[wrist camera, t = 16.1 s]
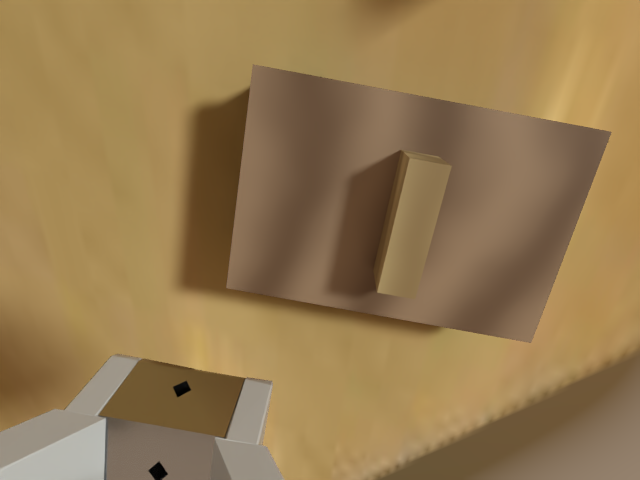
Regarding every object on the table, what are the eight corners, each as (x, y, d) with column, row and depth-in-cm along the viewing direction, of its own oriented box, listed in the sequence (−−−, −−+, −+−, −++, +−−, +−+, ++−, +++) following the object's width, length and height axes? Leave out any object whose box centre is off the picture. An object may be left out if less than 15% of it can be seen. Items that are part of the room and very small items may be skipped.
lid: (230, 279, 28) (212, 312, 24) (257, 65, 24) (240, 61, 20) (523, 332, 28) (553, 372, 24) (598, 129, 24) (649, 138, 20)
